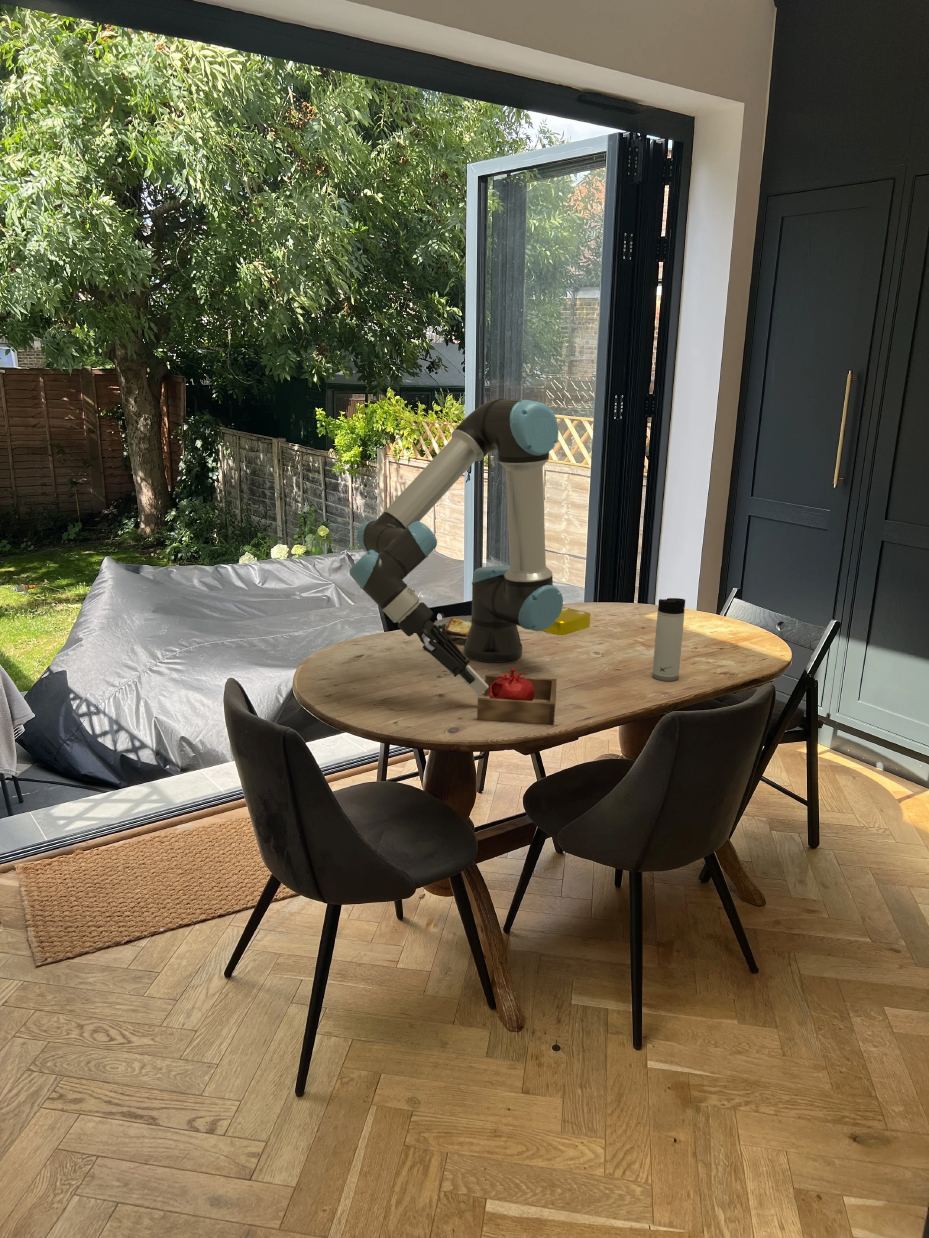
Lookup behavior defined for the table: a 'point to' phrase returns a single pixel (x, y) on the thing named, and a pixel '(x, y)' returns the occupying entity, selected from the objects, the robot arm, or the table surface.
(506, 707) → the box
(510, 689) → the pomegranate
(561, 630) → the element tile
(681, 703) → the table surface
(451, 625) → the food plate
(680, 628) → the travel mug
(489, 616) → the robot arm
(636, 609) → the table surface
